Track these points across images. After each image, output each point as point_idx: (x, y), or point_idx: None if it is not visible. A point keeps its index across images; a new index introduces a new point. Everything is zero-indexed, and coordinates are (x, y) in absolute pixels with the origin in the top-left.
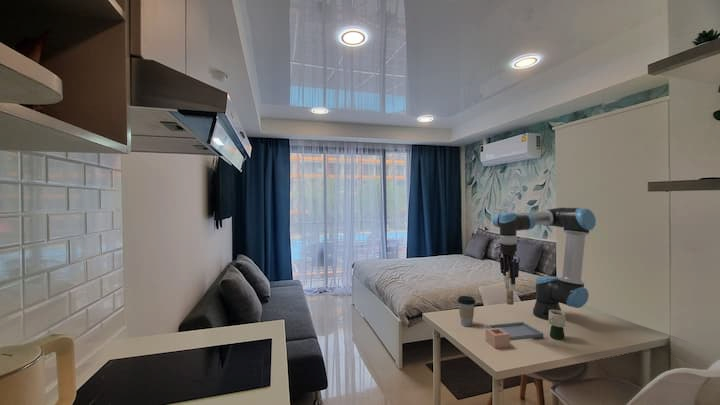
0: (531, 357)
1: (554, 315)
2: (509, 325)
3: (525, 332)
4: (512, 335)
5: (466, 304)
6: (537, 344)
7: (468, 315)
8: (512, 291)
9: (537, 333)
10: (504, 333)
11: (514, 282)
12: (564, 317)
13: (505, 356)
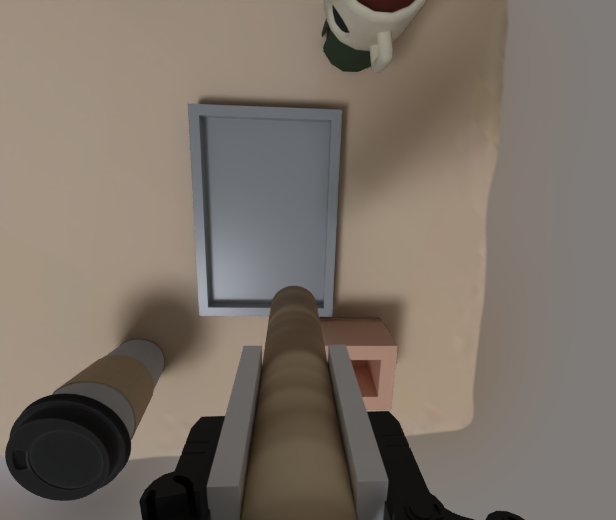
0: (453, 283)
1: (407, 18)
2: (205, 196)
3: (285, 168)
4: (299, 248)
5: (126, 462)
6: (379, 187)
7: (148, 400)
8: (326, 355)
9: (334, 139)
10: (384, 361)
11: (402, 445)
12: None
13: (418, 362)
